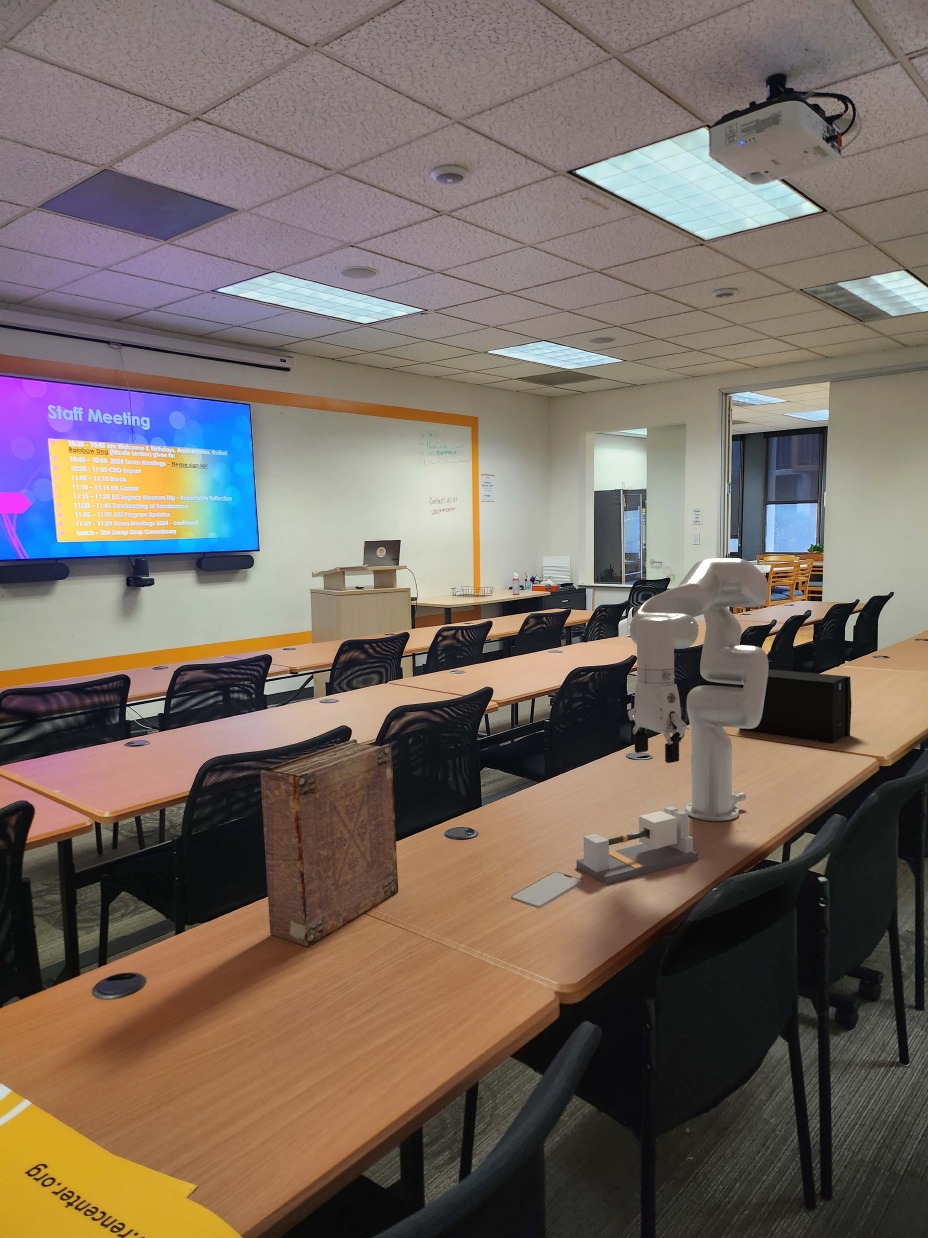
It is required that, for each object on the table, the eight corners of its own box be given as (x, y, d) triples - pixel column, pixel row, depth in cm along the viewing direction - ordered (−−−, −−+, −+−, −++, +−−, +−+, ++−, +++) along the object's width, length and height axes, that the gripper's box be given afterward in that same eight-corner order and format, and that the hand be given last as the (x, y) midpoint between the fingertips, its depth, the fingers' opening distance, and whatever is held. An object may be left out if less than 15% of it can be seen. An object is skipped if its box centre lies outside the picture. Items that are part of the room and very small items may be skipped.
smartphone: (508, 897, 154) (554, 871, 165) (508, 900, 154) (554, 874, 166) (539, 907, 149) (584, 880, 160) (539, 910, 150) (584, 883, 161)
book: (363, 883, 164) (356, 738, 161) (399, 892, 159) (392, 743, 156) (269, 936, 143) (259, 770, 140) (307, 948, 137) (298, 777, 135)
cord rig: (666, 844, 178) (665, 802, 178) (698, 859, 170) (697, 815, 169) (576, 867, 168) (575, 823, 167) (605, 884, 159) (604, 837, 158)
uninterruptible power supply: (831, 744, 258) (832, 683, 256) (733, 730, 282) (733, 673, 280) (851, 735, 269) (851, 676, 267) (754, 721, 293) (754, 667, 291)
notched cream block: (661, 836, 174) (660, 811, 174) (677, 843, 170) (676, 817, 169) (639, 841, 172) (638, 816, 171) (654, 849, 167) (654, 822, 167)
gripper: (698, 679, 161) (699, 763, 163) (643, 669, 177) (643, 746, 178) (669, 683, 158) (670, 768, 160) (615, 672, 174) (616, 750, 175)
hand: (656, 756), depth 169 cm, fingers open, 9 cm apart
